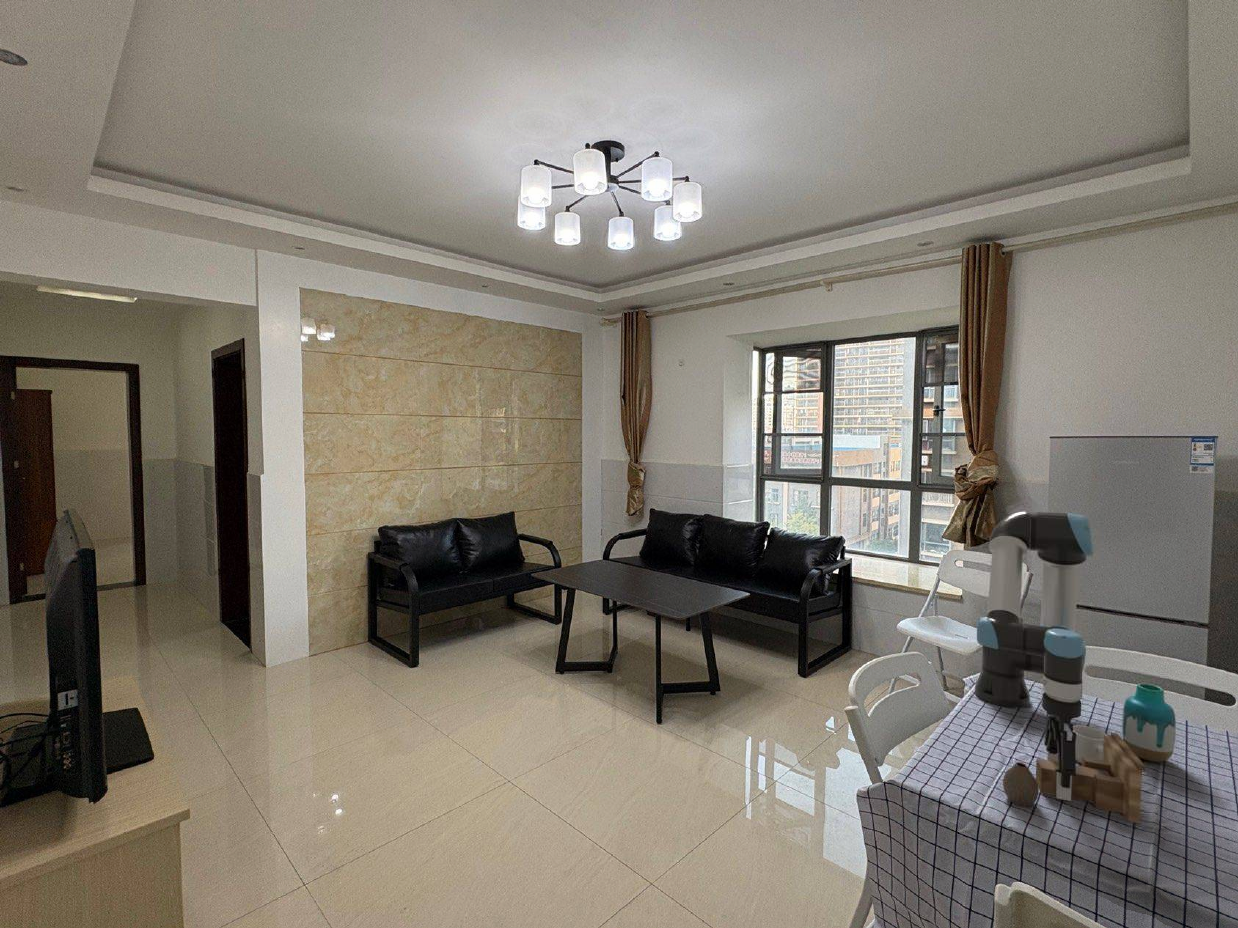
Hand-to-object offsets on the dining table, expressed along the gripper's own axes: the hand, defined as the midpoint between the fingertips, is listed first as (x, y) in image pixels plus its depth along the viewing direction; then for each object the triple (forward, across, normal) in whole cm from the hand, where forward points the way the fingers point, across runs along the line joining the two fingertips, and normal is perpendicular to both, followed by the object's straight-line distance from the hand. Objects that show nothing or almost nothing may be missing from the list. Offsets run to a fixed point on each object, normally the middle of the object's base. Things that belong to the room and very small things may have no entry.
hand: (1058, 788), depth 145 cm
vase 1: (+1, +8, -10) cm, 13 cm away
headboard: (0, 0, +10) cm, 10 cm away
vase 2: (0, -27, +26) cm, 38 cm away
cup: (+1, -17, +12) cm, 21 cm away
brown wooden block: (0, 0, +3) cm, 3 cm away
